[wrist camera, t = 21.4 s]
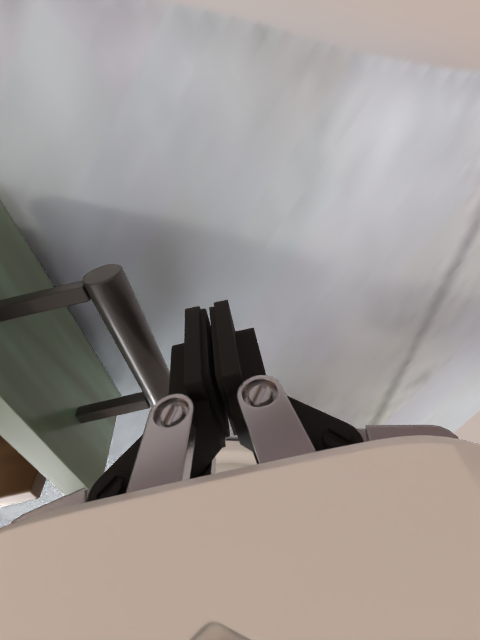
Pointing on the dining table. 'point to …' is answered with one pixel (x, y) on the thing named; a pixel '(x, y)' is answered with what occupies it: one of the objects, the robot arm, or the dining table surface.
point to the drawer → (63, 372)
